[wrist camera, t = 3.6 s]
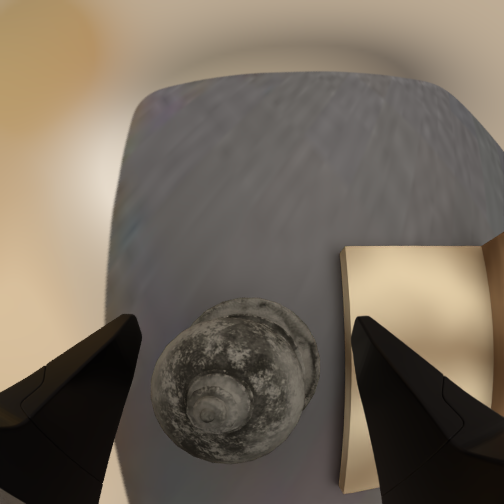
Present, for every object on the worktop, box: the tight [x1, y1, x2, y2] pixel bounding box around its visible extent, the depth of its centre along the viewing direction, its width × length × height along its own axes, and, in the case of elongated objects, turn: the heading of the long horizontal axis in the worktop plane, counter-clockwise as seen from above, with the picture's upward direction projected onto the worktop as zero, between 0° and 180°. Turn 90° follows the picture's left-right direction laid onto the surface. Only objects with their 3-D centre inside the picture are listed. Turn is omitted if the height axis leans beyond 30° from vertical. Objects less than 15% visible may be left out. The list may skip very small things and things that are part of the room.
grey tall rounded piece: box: [151, 298, 320, 464], centre depth 9 cm, size 6×6×12 cm
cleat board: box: [339, 232, 504, 494], centre depth 11 cm, size 14×12×5 cm
